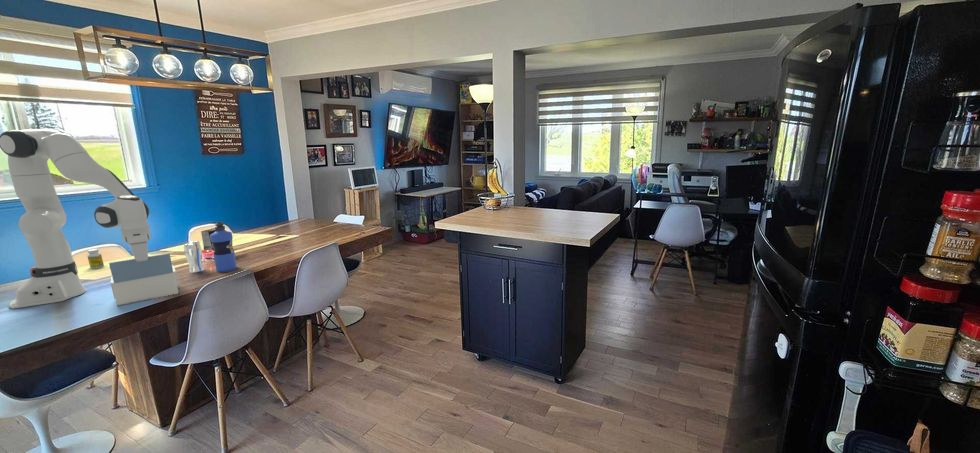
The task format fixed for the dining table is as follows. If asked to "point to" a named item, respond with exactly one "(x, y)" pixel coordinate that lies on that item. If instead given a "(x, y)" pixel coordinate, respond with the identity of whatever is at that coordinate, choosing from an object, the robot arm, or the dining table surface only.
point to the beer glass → (194, 256)
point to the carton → (145, 288)
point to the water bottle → (223, 249)
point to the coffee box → (207, 239)
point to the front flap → (141, 268)
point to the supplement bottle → (95, 258)
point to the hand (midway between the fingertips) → (143, 267)
